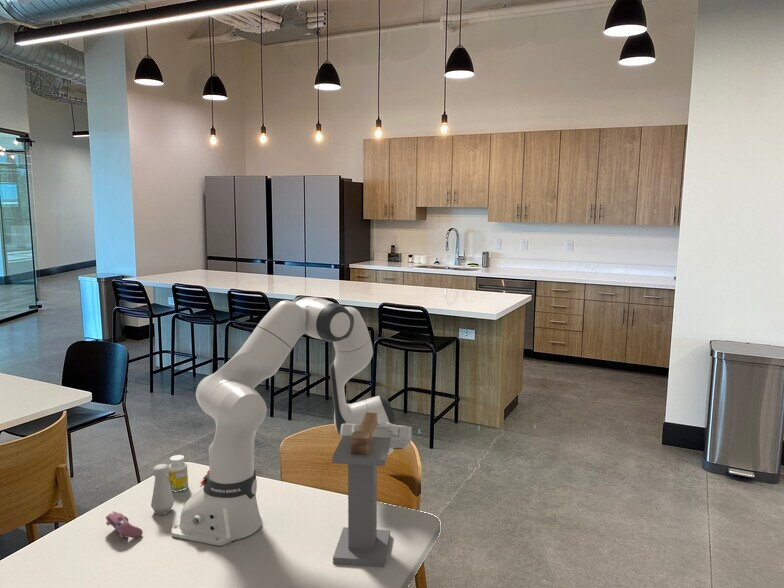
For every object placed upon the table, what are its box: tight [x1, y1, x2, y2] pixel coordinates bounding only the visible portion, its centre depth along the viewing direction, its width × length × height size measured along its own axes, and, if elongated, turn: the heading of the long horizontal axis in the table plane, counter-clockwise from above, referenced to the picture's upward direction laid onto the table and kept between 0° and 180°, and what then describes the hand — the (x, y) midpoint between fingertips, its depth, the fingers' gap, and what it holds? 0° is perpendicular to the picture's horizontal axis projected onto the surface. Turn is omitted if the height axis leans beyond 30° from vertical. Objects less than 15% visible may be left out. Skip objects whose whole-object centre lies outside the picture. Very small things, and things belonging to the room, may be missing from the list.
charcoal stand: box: [331, 435, 391, 568], centre depth 136 cm, size 12×13×26 cm
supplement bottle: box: [168, 454, 189, 491], centre depth 167 cm, size 5×5×10 cm
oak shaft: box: [351, 412, 377, 455], centre depth 139 cm, size 4×20×4 cm, turn 174°
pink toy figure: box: [105, 510, 143, 539], centre depth 143 cm, size 10×5×7 cm, turn 48°
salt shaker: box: [150, 463, 175, 515], centre depth 154 cm, size 6×6×13 cm
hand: (373, 428), depth 154 cm, fingers open, 8 cm apart
